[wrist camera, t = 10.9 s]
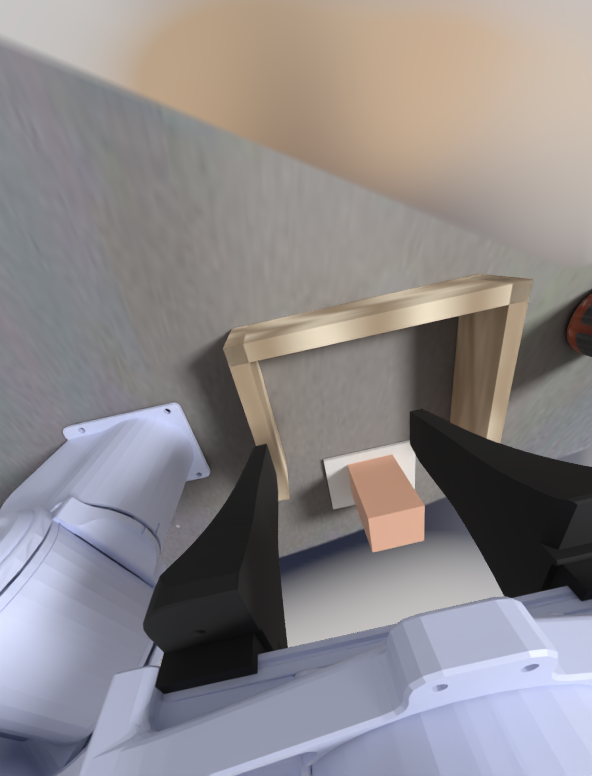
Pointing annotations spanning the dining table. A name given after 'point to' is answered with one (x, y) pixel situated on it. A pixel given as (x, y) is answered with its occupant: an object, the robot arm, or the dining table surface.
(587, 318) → the supplement bottle
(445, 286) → the wooden u-shaped frame
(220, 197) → the dining table surface
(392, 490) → the block
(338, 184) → the dining table surface
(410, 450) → the pad
